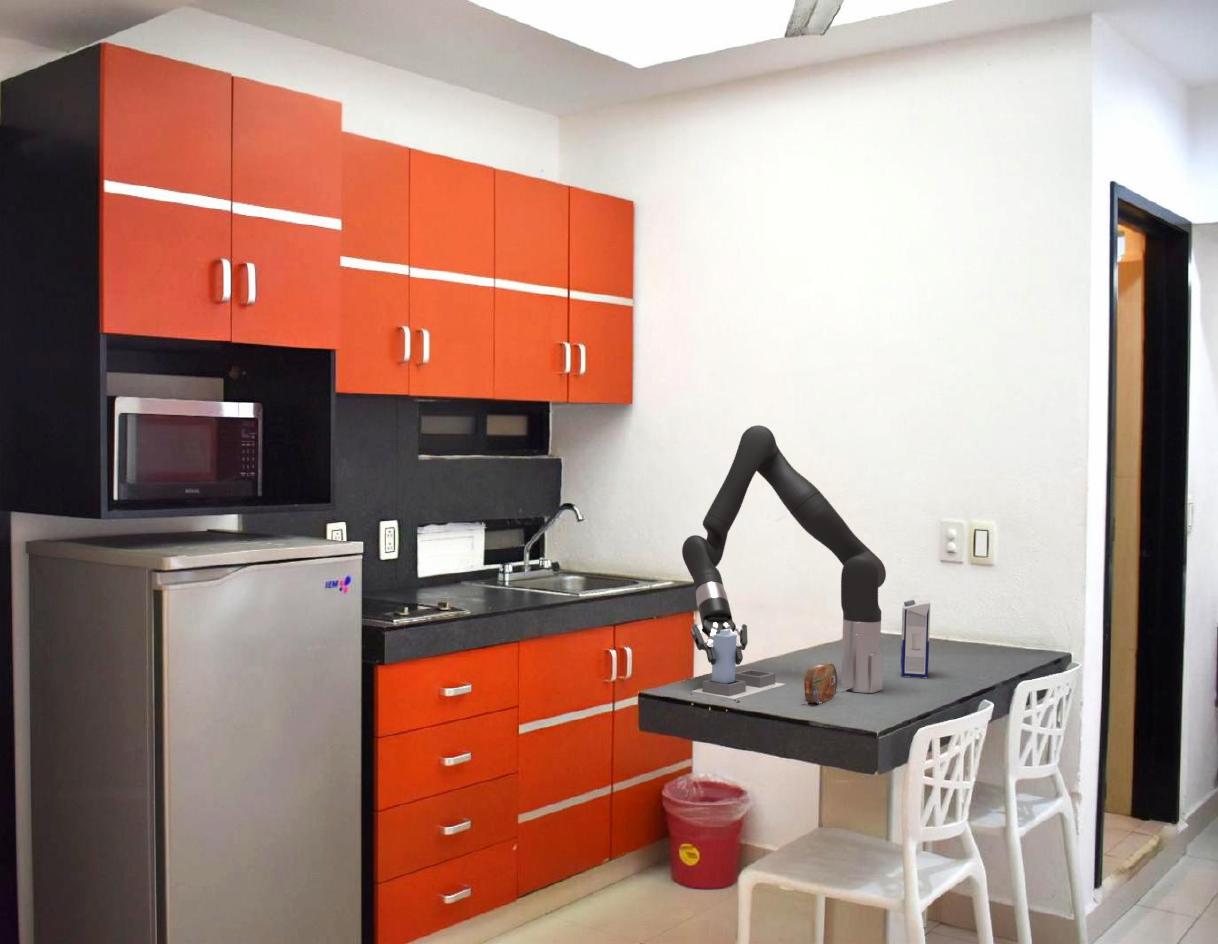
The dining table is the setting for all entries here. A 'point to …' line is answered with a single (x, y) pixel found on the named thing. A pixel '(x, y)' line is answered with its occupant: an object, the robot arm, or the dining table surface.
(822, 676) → the tin
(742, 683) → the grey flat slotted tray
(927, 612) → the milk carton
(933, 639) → the dining table surface
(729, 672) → the plug
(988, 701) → the dining table surface
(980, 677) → the dining table surface
